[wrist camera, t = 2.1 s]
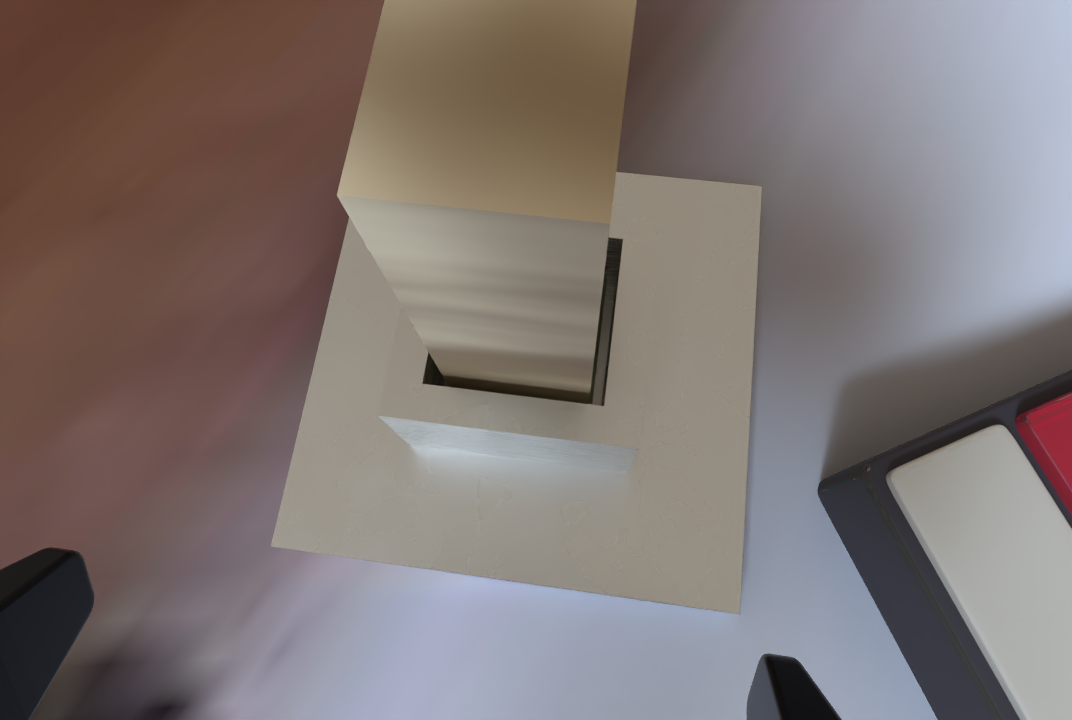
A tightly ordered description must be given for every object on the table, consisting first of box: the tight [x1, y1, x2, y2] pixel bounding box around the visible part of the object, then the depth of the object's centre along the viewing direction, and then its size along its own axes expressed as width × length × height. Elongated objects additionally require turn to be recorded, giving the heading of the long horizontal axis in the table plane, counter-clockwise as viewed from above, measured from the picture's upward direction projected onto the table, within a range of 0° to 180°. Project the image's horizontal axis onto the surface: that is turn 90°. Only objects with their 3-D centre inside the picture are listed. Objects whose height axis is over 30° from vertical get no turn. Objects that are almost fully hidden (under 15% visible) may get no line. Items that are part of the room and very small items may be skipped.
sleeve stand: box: [271, 172, 762, 614], centre depth 22 cm, size 14×14×6 cm
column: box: [337, 0, 637, 405], centre depth 17 cm, size 4×4×13 cm
